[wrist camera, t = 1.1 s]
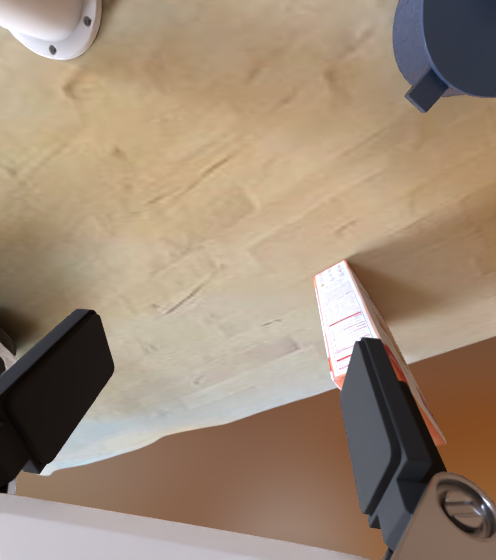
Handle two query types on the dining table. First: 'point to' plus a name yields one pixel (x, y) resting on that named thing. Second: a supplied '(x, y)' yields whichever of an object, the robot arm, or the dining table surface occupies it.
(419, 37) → the pot
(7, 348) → the stone bowl
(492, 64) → the lid
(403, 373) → the cracker box
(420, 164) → the dining table surface
